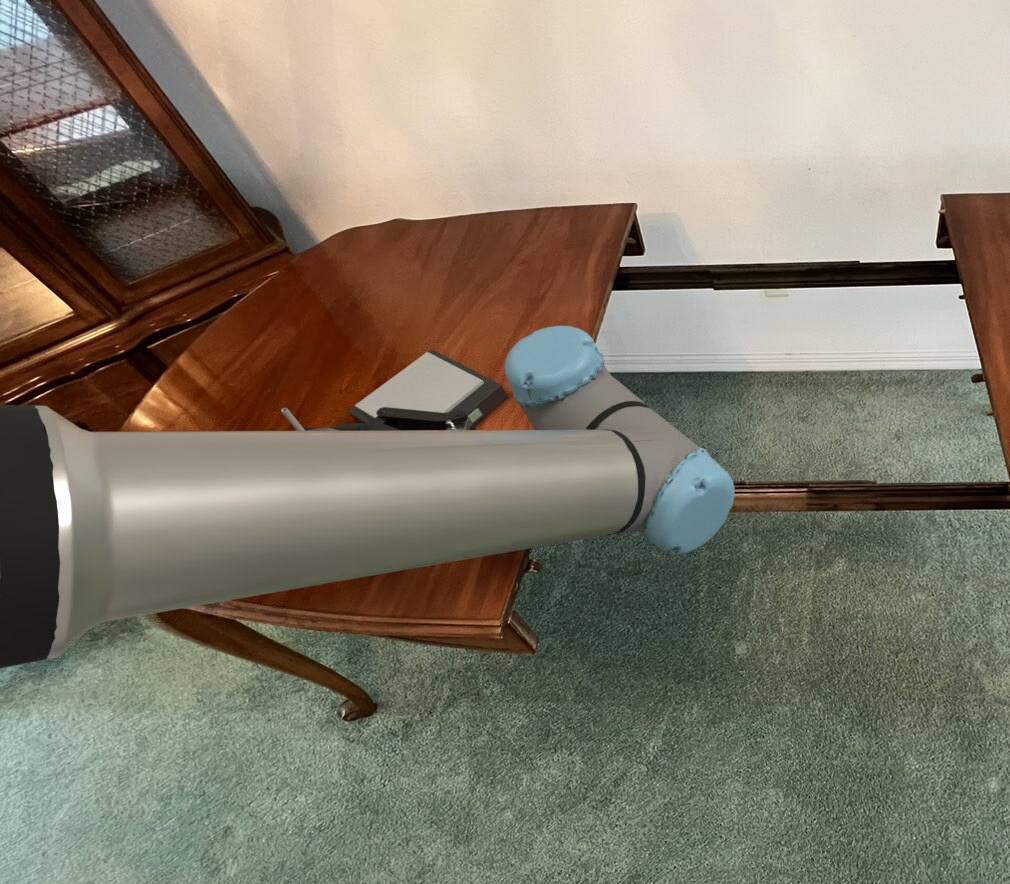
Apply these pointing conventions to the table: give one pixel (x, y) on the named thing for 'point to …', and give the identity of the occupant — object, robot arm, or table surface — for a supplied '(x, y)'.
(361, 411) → the scale
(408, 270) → the table surface
